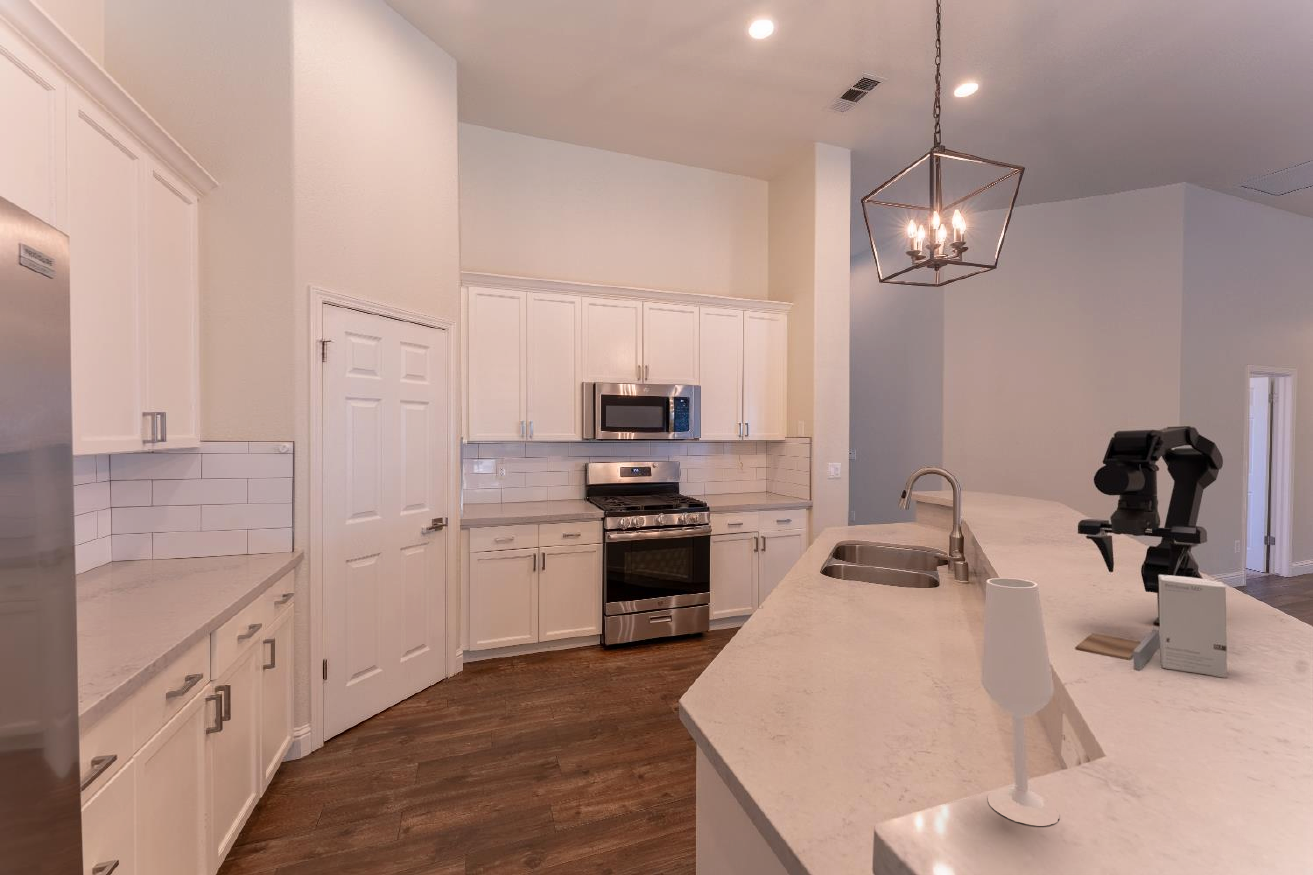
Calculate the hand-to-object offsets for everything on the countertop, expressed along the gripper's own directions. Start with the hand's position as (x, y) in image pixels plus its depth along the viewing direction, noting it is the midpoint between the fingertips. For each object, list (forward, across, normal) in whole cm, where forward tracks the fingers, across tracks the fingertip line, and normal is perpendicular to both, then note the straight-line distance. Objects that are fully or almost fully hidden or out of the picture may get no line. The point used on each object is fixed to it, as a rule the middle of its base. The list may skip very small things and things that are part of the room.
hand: (1140, 575), depth 114 cm
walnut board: (+12, -2, -10) cm, 16 cm away
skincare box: (+13, +10, -12) cm, 20 cm away
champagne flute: (+16, +7, -73) cm, 75 cm away
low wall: (+12, +4, -11) cm, 17 cm away
